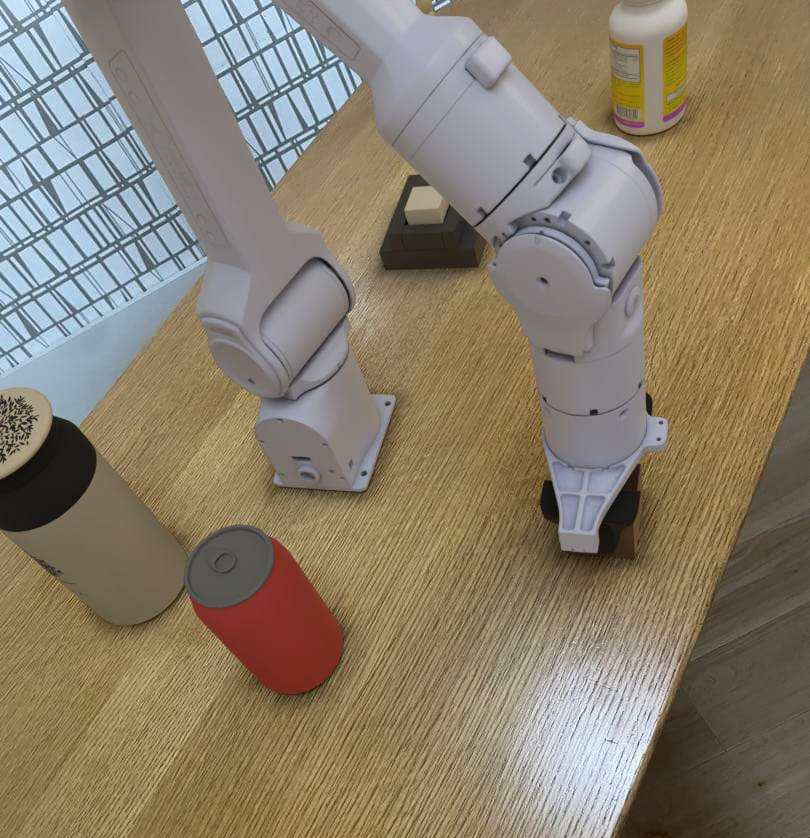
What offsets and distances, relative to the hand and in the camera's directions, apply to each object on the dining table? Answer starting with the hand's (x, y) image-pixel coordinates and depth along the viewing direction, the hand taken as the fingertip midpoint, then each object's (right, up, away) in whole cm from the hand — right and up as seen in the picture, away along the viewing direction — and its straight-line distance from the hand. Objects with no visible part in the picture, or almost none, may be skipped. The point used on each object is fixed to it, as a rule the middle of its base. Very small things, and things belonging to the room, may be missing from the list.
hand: (603, 517), depth 56 cm
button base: (-9, +28, +23) cm, 37 cm away
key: (-11, +28, +19) cm, 35 cm away
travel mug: (-33, -5, +9) cm, 35 cm away
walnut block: (0, -1, +1) cm, 1 cm away
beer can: (-20, -9, +2) cm, 23 cm away
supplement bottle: (+10, +39, +25) cm, 47 cm away
